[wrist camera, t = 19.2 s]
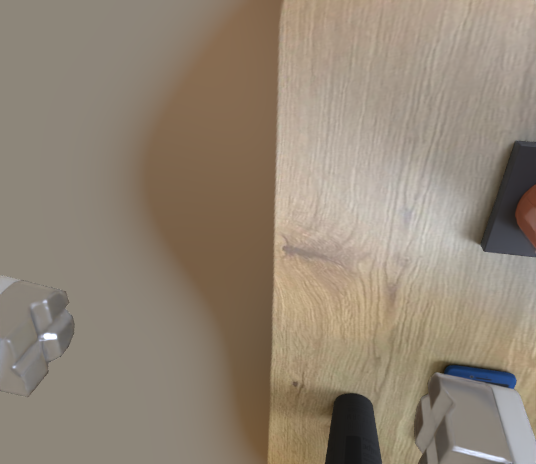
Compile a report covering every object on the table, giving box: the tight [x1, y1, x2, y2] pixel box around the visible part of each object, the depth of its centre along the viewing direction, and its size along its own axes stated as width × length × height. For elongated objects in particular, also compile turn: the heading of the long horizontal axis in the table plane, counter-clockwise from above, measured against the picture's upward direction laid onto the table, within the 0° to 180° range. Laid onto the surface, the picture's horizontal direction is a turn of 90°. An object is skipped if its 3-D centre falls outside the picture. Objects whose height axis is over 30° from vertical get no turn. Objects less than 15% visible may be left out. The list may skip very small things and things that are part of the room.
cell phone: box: [444, 365, 516, 389], centre depth 49 cm, size 7×14×1 cm, turn 179°
